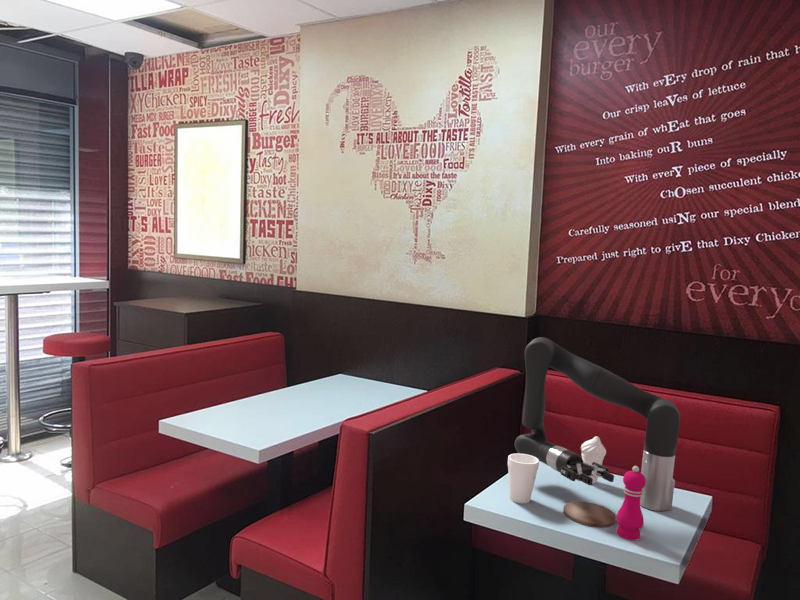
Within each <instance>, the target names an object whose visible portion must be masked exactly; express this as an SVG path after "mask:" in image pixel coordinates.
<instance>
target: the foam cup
mask: <svg viewBox="0 0 800 600" xmlns="http://www.w3.org/2000/svg"><path fill="white" fill-rule="evenodd" d="M539 466H540V461H539V459H537V458H536V457H534V456H531V455H527V454H519V453H518V452H517V453H511V454H509V455H508V457H507V469H508V470H507V471H508V472H507V473H508V493H509V494H508V495H509V500H510V501H512V502H513V501H514V502H513V503H516V502H517V504H523V503H524V504H529V503H530V502H531V499H532V493H533V491H534V486H535V482H536V479H537V477H536V476H537V473H538V470H539Z"/></svg>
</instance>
